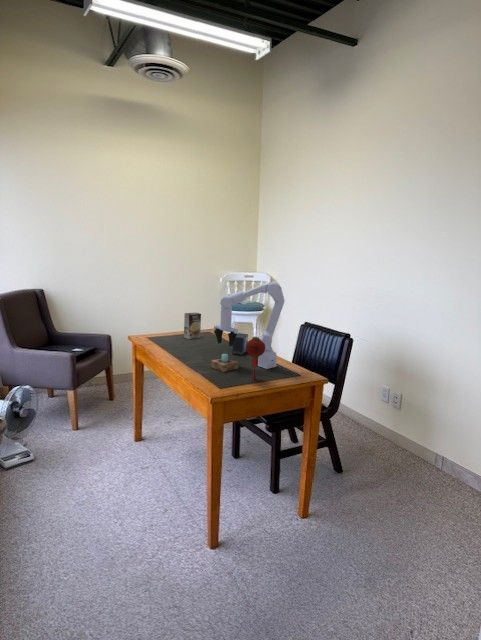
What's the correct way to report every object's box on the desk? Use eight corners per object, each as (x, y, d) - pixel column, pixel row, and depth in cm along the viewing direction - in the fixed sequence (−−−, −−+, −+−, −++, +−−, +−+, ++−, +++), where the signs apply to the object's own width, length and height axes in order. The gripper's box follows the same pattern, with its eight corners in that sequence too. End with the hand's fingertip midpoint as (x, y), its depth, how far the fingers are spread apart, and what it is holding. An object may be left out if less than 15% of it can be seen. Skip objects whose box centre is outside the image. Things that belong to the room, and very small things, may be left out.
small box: (242, 355, 240) (243, 337, 238) (231, 354, 242) (232, 336, 240) (248, 351, 250) (248, 333, 248) (237, 349, 252) (238, 332, 250)
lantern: (243, 375, 206) (246, 314, 200) (262, 375, 207) (265, 315, 201) (244, 381, 197) (247, 318, 191) (265, 381, 198) (268, 318, 192)
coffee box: (189, 339, 272) (189, 314, 269) (183, 337, 277) (183, 313, 274) (200, 337, 278) (201, 313, 275) (195, 335, 283) (195, 312, 280)
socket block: (238, 368, 216) (238, 361, 215) (223, 372, 209) (223, 365, 209) (225, 363, 223) (225, 357, 223) (210, 366, 217) (210, 360, 216)
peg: (228, 367, 217) (229, 354, 216) (225, 369, 214) (226, 355, 213) (223, 366, 219) (223, 353, 217) (220, 368, 216) (220, 354, 214)
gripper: (241, 320, 220) (240, 345, 222) (220, 316, 228) (219, 340, 231) (233, 322, 214) (232, 348, 217) (211, 318, 223) (211, 343, 225)
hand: (225, 344), depth 223 cm, fingers open, 7 cm apart
